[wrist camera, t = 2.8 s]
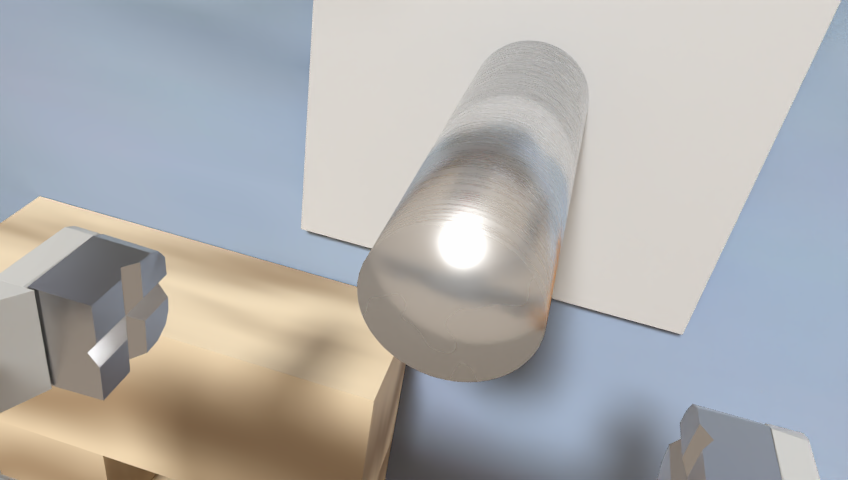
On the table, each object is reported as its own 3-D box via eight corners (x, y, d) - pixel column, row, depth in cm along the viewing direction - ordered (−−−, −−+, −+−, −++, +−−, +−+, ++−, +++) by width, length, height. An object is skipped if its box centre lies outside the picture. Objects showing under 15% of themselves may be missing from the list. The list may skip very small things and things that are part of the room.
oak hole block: (39, 196, 25) (-63, 266, 22) (416, 303, 24) (373, 400, 20) (98, 501, 36) (36, 584, 32) (364, 593, 34) (330, 691, 30)
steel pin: (484, 28, 18) (366, 202, 10) (603, 56, 17) (569, 257, 10) (463, 136, 19) (348, 351, 12) (571, 164, 19) (521, 403, 12)
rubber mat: (331, -218, 16) (325, -218, 16) (887, -113, 14) (893, -110, 14) (305, 222, 23) (300, 228, 23) (682, 326, 21) (682, 334, 21)
